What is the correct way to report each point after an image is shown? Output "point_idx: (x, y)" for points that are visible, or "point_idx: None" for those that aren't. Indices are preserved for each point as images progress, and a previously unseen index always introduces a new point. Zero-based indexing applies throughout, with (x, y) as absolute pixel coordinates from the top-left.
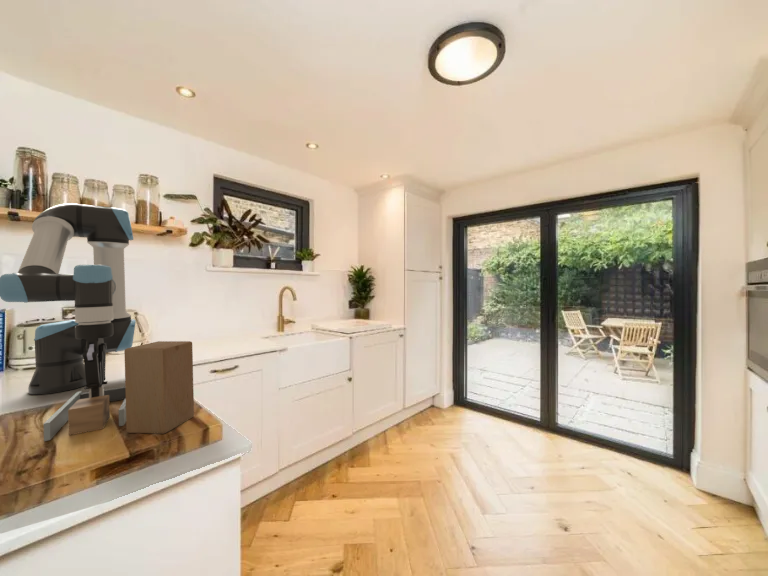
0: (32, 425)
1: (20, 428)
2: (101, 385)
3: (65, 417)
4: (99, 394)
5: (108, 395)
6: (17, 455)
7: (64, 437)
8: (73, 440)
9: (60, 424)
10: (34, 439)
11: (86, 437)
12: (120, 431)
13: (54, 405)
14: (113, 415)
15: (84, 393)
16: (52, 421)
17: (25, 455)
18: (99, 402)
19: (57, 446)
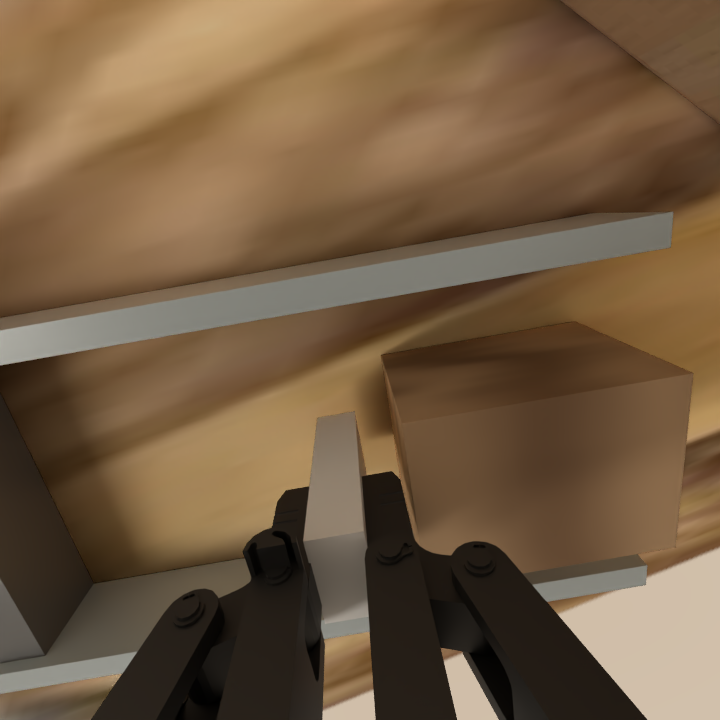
0: (329, 646)
1: (348, 668)
2: (398, 544)
3: None
4: (365, 500)
5: (423, 420)
6: (693, 536)
7: None
8: None
9: None
10: None
11: (662, 356)
12: (691, 201)
13: (31, 698)
14: (352, 345)
15: (22, 642)
16: (596, 565)
17: (715, 509)
18: (623, 413)
19: (697, 436)
